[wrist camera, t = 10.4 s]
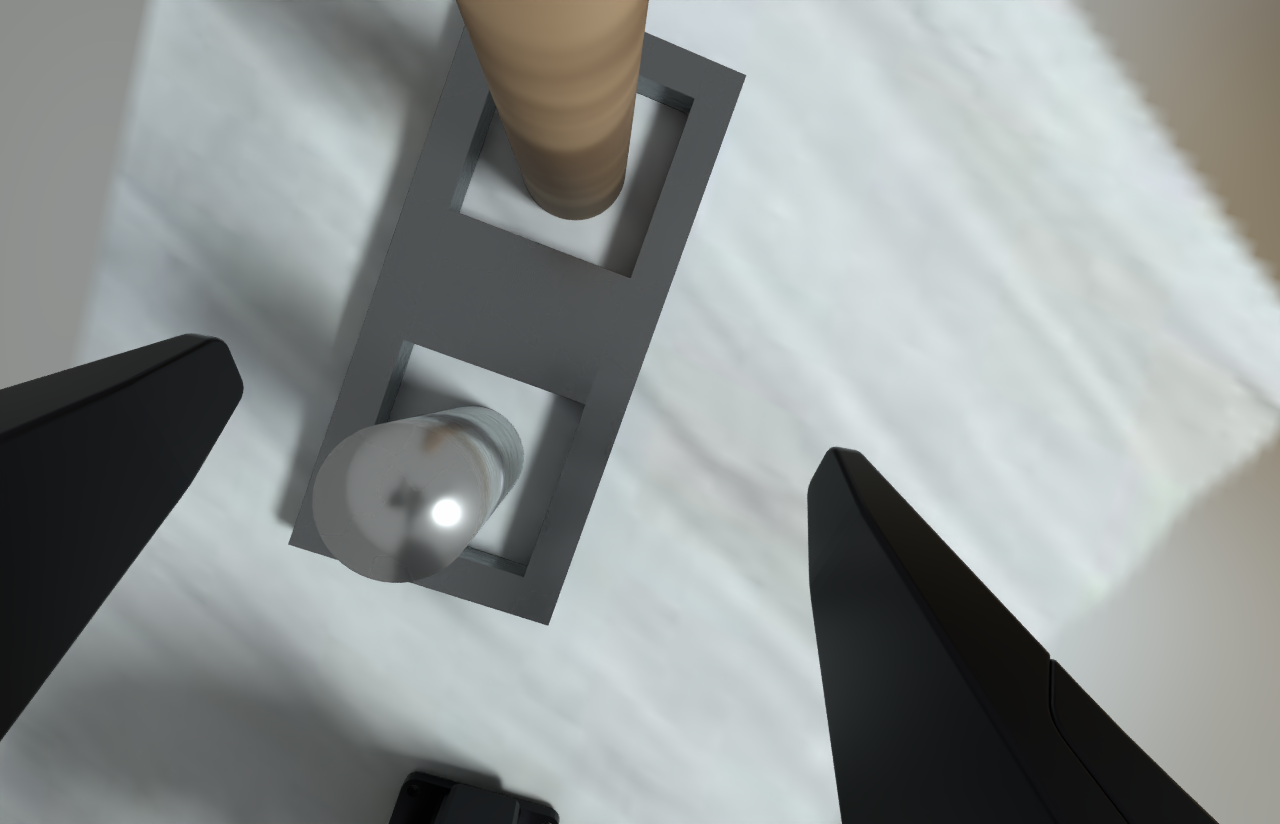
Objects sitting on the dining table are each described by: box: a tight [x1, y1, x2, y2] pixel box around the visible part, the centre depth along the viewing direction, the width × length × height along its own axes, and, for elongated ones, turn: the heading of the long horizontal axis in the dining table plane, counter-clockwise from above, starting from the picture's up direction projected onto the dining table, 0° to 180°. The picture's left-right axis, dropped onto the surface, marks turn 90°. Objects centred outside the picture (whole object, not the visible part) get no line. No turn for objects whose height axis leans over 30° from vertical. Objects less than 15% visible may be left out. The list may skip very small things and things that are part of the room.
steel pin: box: [312, 406, 524, 583], centre depth 17 cm, size 4×4×8 cm
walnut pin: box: [456, 0, 649, 220], centre depth 14 cm, size 4×4×13 cm
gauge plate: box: [289, 25, 746, 625], centre depth 20 cm, size 22×10×1 cm, turn 160°
